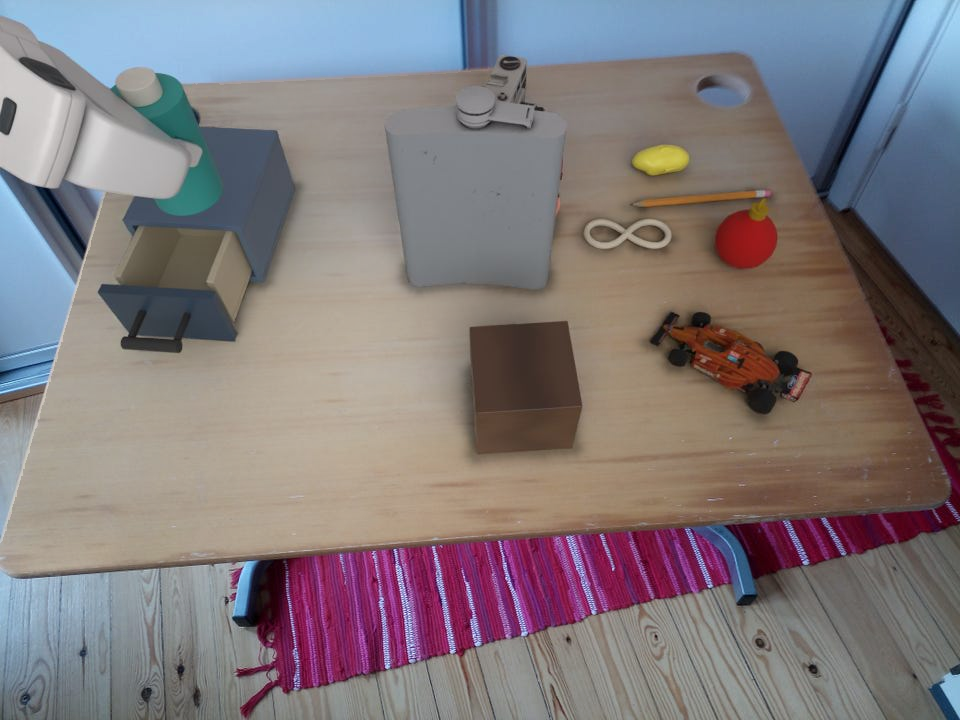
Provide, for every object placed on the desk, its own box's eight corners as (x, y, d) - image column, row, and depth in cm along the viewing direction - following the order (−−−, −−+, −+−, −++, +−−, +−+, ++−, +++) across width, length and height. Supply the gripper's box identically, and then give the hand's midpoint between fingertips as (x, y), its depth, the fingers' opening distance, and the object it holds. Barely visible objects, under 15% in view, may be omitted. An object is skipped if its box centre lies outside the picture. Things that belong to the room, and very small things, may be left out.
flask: (547, 261, 84) (568, 84, 63) (547, 290, 81) (569, 115, 61) (409, 258, 84) (384, 80, 63) (405, 286, 82) (379, 111, 61)
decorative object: (581, 222, 87) (585, 251, 84) (582, 216, 86) (586, 245, 84) (666, 222, 88) (673, 250, 85) (668, 216, 87) (675, 245, 84)
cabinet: (264, 282, 82) (240, 226, 74) (156, 275, 83) (121, 220, 75) (295, 188, 91) (277, 130, 83) (198, 183, 92) (171, 124, 84)
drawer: (222, 378, 74) (197, 337, 67) (113, 370, 74) (78, 329, 68) (269, 241, 85) (251, 195, 78) (174, 236, 85) (148, 189, 79)
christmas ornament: (727, 229, 87) (753, 169, 78) (776, 258, 84) (808, 199, 76) (696, 259, 84) (720, 200, 76) (745, 290, 81) (775, 232, 73)
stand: (476, 454, 70) (476, 413, 62) (470, 373, 75) (469, 326, 67) (572, 448, 70) (582, 406, 62) (559, 367, 75) (567, 320, 68)
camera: (522, 184, 91) (523, 121, 83) (462, 168, 94) (457, 106, 85) (557, 124, 98) (561, 61, 90) (500, 111, 101) (499, 48, 92)
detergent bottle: (176, 226, 58) (117, 113, 49) (142, 191, 61) (80, 77, 51) (236, 193, 61) (190, 79, 51) (201, 160, 63) (151, 46, 53)
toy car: (674, 307, 80) (683, 284, 76) (807, 377, 74) (824, 355, 71) (642, 351, 77) (650, 328, 73) (779, 427, 71) (795, 407, 67)
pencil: (767, 190, 90) (628, 202, 89) (770, 188, 89) (630, 200, 88) (768, 197, 90) (629, 209, 89) (771, 195, 89) (631, 207, 88)
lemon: (689, 179, 92) (697, 157, 89) (631, 181, 92) (637, 158, 89) (683, 159, 94) (690, 136, 91) (626, 160, 94) (632, 138, 91)
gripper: (-94, 64, 49) (93, 115, 61) (46, 199, 41) (228, 227, 53) (-75, -23, 47) (115, 48, 59) (76, 103, 39) (258, 154, 51)
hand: (170, 134), depth 56 cm, fingers closed on detergent bottle, 6 cm apart
